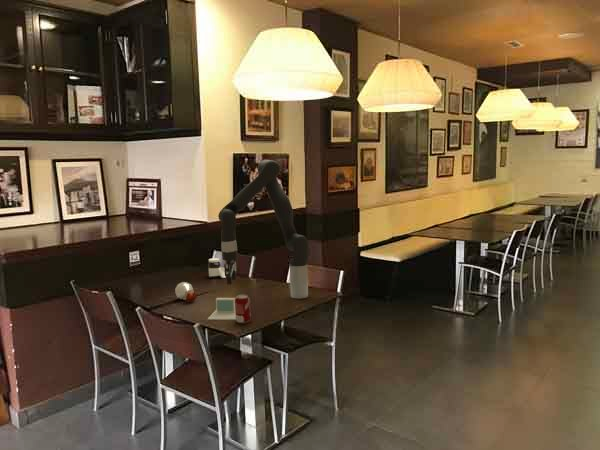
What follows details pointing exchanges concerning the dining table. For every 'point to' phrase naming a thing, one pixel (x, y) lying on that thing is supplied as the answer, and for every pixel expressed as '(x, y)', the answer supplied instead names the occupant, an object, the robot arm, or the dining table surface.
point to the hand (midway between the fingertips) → (231, 281)
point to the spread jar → (216, 268)
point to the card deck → (225, 304)
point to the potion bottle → (185, 292)
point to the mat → (222, 316)
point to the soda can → (242, 309)
